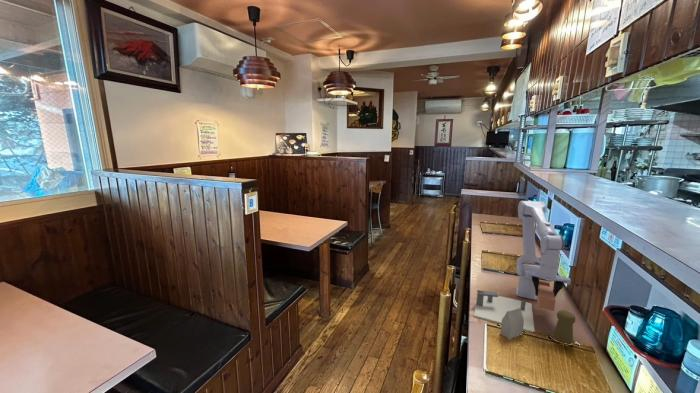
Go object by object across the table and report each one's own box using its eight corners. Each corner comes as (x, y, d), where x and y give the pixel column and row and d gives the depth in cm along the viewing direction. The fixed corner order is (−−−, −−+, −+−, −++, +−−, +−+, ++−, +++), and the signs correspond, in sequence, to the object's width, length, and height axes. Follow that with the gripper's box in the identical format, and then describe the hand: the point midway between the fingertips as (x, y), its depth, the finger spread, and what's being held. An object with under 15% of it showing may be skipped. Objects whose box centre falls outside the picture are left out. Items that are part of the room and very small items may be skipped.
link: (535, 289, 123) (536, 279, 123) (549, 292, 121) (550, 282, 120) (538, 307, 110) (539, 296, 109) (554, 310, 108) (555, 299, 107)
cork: (576, 347, 98) (581, 318, 96) (557, 345, 100) (561, 316, 98) (567, 336, 104) (571, 308, 102) (549, 334, 105) (552, 307, 103)
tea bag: (522, 335, 105) (525, 310, 103) (509, 339, 102) (512, 314, 101) (513, 329, 108) (515, 305, 107) (500, 333, 106) (503, 309, 104)
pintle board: (478, 292, 135) (479, 279, 134) (531, 304, 125) (532, 290, 124) (473, 316, 116) (474, 301, 115) (534, 333, 106) (536, 317, 105)
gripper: (527, 264, 112) (524, 296, 115) (573, 272, 105) (568, 306, 108) (527, 258, 118) (523, 288, 121) (570, 265, 111) (565, 297, 114)
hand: (544, 296), depth 115 cm, fingers closed on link, 5 cm apart
